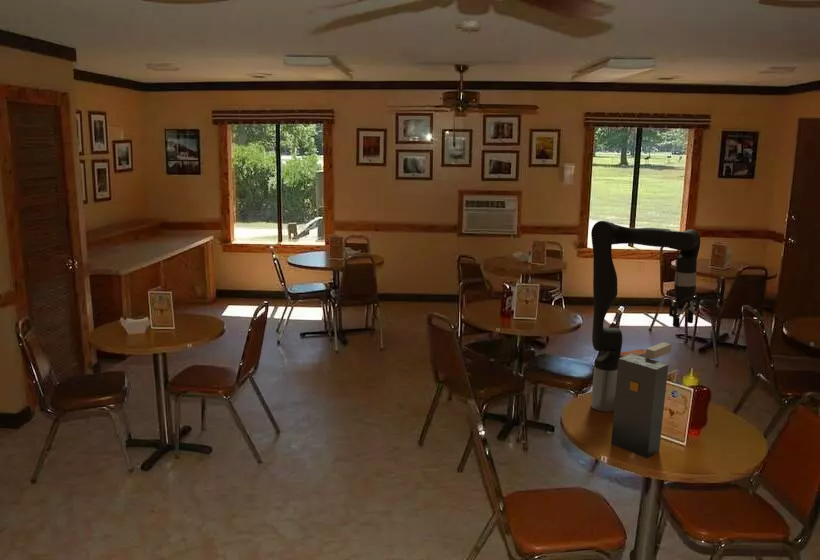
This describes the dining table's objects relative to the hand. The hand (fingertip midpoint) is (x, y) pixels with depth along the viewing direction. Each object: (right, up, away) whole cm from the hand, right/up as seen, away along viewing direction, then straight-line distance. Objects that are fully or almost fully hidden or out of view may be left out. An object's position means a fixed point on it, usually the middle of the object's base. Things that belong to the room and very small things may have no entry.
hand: (682, 324), depth 251 cm
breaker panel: (-24, -42, -18) cm, 52 cm away
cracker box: (-12, -33, +24) cm, 43 cm away
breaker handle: (-16, -9, -18) cm, 26 cm away
